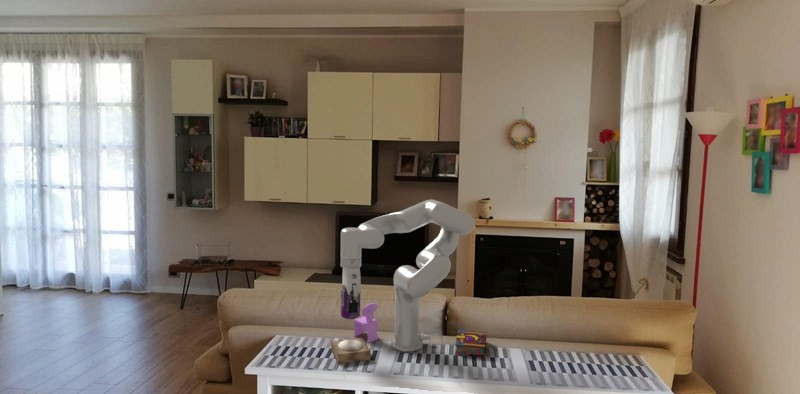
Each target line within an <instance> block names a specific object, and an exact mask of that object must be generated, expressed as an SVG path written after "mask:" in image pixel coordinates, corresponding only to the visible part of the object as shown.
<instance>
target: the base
mask: <svg viewBox="0 0 800 394" xmlns="http://www.w3.org/2000/svg"><path fill="white" fill-rule="evenodd" d="M330 350H331V353H332V354H333V356H334V358H335V360H336V363H337V364H338V365H339V364H346V363H355V362H361V361H362V362H363V361H368V360H369V359H370V360H371V349H370V348H369V346H368V345H367V342H365V340H364V339H363V337H359V338H357V337H356V338H351V339H350V338H349V339H342V340H341V339H340V340H332V341H330Z"/></svg>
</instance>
